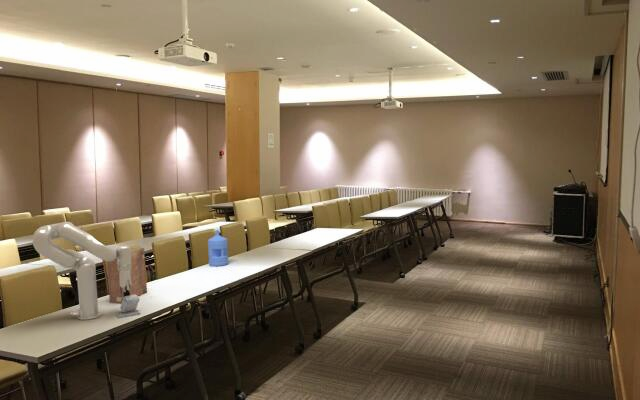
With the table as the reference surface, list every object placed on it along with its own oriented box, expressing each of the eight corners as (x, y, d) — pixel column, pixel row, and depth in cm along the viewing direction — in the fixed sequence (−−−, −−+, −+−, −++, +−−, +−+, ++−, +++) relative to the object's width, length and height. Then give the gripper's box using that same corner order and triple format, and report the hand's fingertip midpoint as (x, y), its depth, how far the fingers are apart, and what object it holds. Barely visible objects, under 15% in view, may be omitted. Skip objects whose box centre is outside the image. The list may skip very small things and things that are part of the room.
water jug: (205, 264, 424) (203, 230, 421) (221, 261, 434) (220, 228, 432) (215, 267, 412) (213, 232, 410) (232, 264, 423) (230, 230, 420)
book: (135, 292, 344) (132, 247, 341) (147, 292, 341) (144, 247, 339) (109, 302, 320) (106, 254, 317) (122, 303, 317) (119, 255, 315)
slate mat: (118, 318, 288) (118, 317, 288) (115, 314, 294) (115, 314, 294) (140, 314, 294) (140, 313, 294) (137, 310, 301) (137, 310, 301)
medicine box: (132, 305, 305) (136, 293, 301) (135, 310, 302) (139, 298, 299) (119, 308, 298) (123, 296, 295) (123, 313, 296) (127, 301, 293)
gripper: (115, 266, 303) (117, 296, 304) (120, 270, 290) (122, 302, 292) (128, 264, 306) (130, 294, 308) (134, 268, 294) (136, 300, 295)
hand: (126, 298), depth 300 cm, fingers closed
